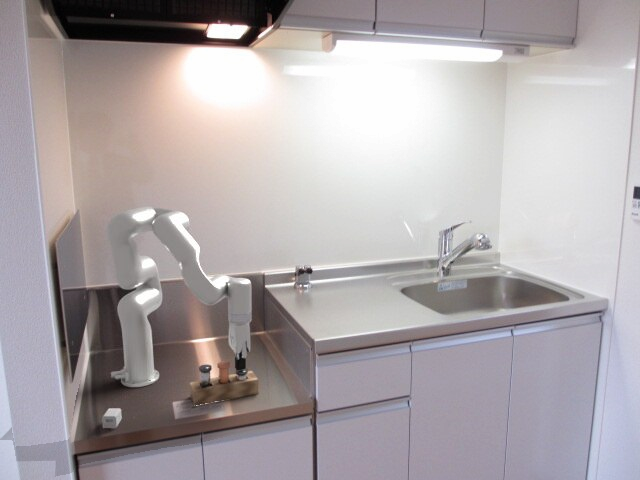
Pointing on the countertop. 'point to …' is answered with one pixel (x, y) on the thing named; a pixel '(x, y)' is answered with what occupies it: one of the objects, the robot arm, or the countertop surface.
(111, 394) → the countertop surface
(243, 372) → the grey plug far
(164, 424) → the countertop surface
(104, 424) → the usb wall charger
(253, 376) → the socket strip
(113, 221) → the robot arm
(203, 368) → the grey plug near
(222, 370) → the rust plug
